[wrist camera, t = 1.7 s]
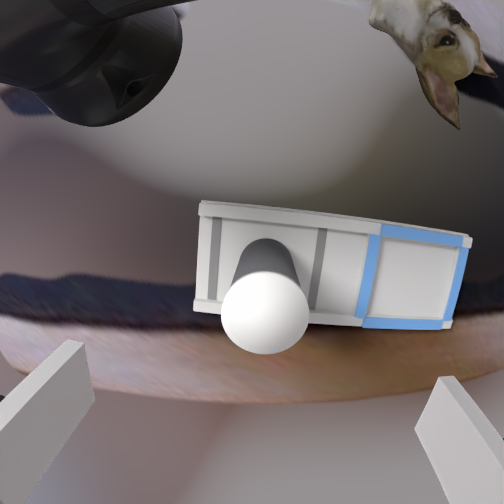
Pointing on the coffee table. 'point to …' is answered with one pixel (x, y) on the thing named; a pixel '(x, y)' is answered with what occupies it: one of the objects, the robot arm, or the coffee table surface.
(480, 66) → the ceramic sculpture
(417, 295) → the white divided tray
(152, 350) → the coffee table surface
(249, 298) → the grey and white cylinder
